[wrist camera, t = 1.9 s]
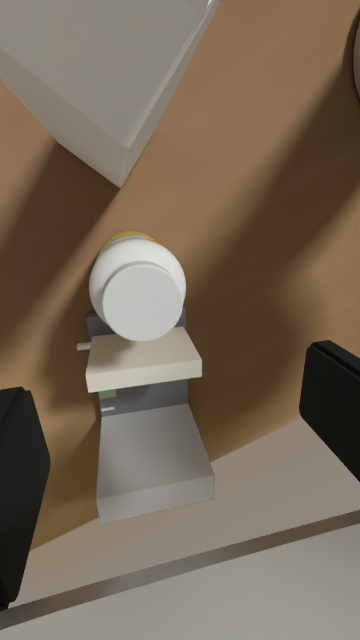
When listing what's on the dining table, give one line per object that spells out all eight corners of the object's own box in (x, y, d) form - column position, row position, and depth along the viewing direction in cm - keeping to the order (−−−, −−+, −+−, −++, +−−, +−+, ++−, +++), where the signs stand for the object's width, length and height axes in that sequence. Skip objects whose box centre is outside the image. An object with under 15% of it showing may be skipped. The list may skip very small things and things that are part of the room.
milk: (93, 71, 22) (-124, -1263, 2) (158, 128, 24) (355, -260, 4) (55, 143, 23) (-329, -280, 3) (120, 191, 26) (136, 119, 5)
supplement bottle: (169, 292, 30) (203, 347, 18) (105, 302, 29) (97, 368, 17) (161, 225, 27) (194, 239, 16) (90, 234, 26) (69, 256, 15)
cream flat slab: (76, 338, 28) (64, 377, 21) (183, 326, 29) (201, 359, 23) (79, 352, 28) (68, 395, 22) (183, 340, 30) (201, 376, 24)
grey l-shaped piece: (86, 313, 29) (70, 371, 19) (183, 304, 31) (216, 352, 20) (105, 430, 34) (100, 524, 24) (186, 416, 36) (214, 499, 26)
